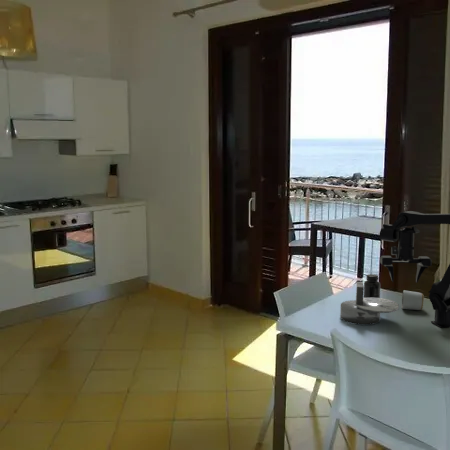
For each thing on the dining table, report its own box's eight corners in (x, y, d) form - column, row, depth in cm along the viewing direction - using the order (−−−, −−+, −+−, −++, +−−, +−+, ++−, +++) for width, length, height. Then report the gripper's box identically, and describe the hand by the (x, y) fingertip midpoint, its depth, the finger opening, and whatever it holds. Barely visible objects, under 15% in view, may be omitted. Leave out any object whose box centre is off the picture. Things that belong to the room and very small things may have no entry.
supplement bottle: (377, 300, 224) (379, 273, 223) (381, 305, 218) (382, 277, 216) (361, 299, 225) (363, 273, 223) (364, 304, 218) (365, 277, 217)
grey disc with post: (396, 301, 204) (397, 281, 203) (400, 314, 189) (401, 292, 187) (354, 299, 208) (355, 279, 206) (355, 310, 192) (356, 289, 191)
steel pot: (378, 310, 211) (378, 298, 210) (381, 330, 187) (382, 317, 186) (340, 307, 214) (341, 295, 213) (339, 327, 190) (340, 314, 189)
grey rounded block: (423, 312, 208) (424, 294, 207) (402, 310, 210) (403, 292, 209) (420, 305, 218) (421, 288, 217) (400, 304, 220) (401, 286, 219)
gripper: (425, 240, 209) (424, 277, 211) (378, 239, 211) (377, 276, 213) (432, 244, 198) (431, 284, 200) (382, 244, 200) (381, 283, 202)
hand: (404, 282), depth 204 cm, fingers open, 9 cm apart
